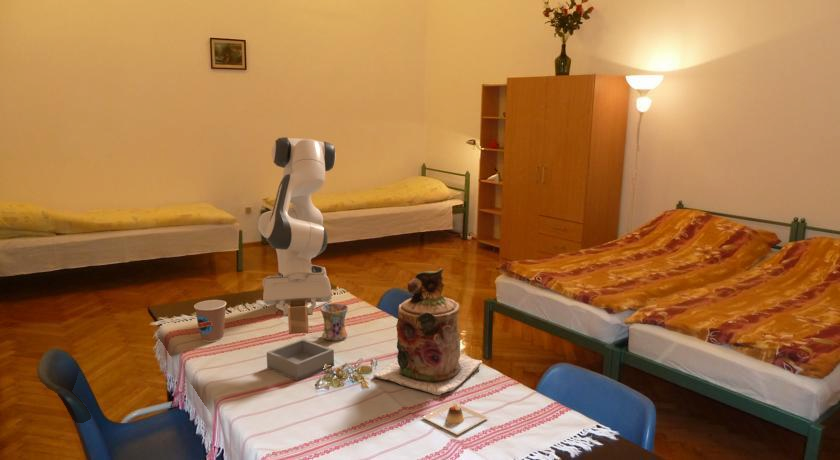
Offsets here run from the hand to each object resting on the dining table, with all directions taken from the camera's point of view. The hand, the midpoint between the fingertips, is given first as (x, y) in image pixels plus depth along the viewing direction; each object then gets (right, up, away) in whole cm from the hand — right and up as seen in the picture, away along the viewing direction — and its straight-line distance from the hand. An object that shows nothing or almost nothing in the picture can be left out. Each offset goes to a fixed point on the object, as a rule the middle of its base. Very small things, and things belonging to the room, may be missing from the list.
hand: (298, 315), depth 179 cm
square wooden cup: (0, -5, +1) cm, 5 cm away
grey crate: (0, -16, +3) cm, 16 cm away
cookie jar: (+39, -17, 0) cm, 42 cm away
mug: (+6, -11, +28) cm, 31 cm away
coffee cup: (-34, -12, +26) cm, 44 cm away
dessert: (+45, -23, -27) cm, 57 cm away
